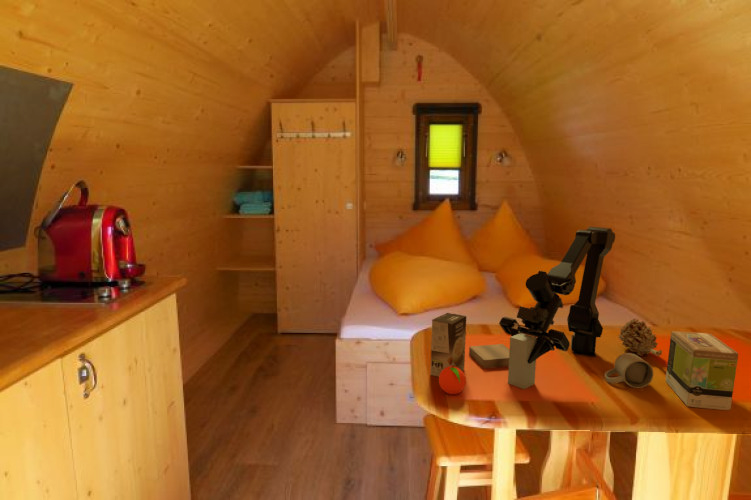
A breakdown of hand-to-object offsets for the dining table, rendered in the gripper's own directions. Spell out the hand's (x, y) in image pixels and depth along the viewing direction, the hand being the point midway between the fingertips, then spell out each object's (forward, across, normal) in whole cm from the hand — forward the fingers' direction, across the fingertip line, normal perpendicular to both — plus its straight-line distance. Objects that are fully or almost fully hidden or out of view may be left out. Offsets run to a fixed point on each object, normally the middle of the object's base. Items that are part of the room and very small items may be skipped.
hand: (519, 359), depth 132 cm
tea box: (-15, +33, +26) cm, 45 cm away
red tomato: (+17, -8, -7) cm, 20 cm away
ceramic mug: (-12, +18, +22) cm, 31 cm away
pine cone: (-28, +14, +38) cm, 49 cm away
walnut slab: (-1, -15, +12) cm, 19 cm away
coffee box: (+11, -18, 0) cm, 21 cm away
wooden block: (+4, 0, +6) cm, 7 cm away
